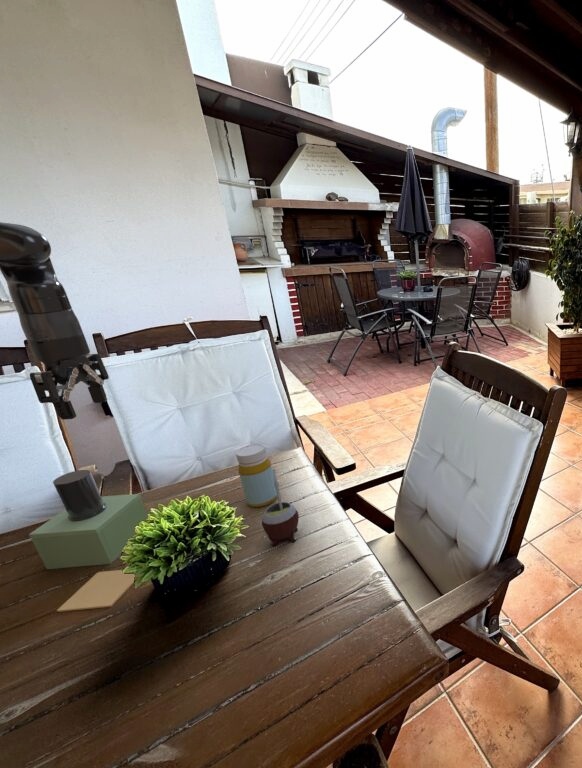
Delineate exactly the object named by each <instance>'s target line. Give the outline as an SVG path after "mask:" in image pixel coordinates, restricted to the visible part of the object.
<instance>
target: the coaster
mask: <svg viewBox="0 0 582 768" xmlns="http://www.w3.org/2000/svg"><path fill="white" fill-rule="evenodd" d="M122 570H123V569H116V570H106V571H105V570H104V571H97V572H96V573H95V574H94V575H93V576H92V577H91V578H89V580H88V581H86V582H85V584H83V585H82V586H81V587H80V588H79V589H78V590H77V591H76V592H74V594H73V595H71V597H70V598H68V599H67V600H66V601H65V602H64V603H62V604H61V606H60V607H58V609H56V613H61V612H72V611H73V612H74V611H83V610H91V609H93V610H95V609H105V608H112V607H114V605H115V604H116V603H117V602H118V601H119V600H120V599H121V598H122V596H123V595H124V594H125V593H126V592H127V591H128V590H129V589H130V588H131V587H132V585H134V584H135V582H134V577H135V575H134V574H124V573H123V572H122Z"/></svg>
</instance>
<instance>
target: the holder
mask: <svg viewBox="0 0 582 768" xmlns="http://www.w3.org/2000/svg"><path fill="white" fill-rule="evenodd" d="M52 484H53V486H54V489H55V490H56V492H57V494H58V497H59V499H60V501H61V503H62V505H63V507H64V510H65V509H66V511H67V514H68V519H69V520H70V521H73V522H75V521H82V520H86V519H89V518H92V517H94V516H96V515H98V514H100V513H102V512H103V511H104V510H105V509H106V508H107V505H106V503H104V502H103V499H102V497H101V496H102V495H101V492H100V490H99V488H98V485H97V483H96V481H95V479H94V476H93V474H92V472H91V470H89V469H79V470H73V471H70V472H67V473H65V474H61V475H60V476H58V477H57V478H55V479H54V480H53V482H52Z"/></svg>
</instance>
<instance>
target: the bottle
mask: <svg viewBox="0 0 582 768" xmlns="http://www.w3.org/2000/svg"><path fill="white" fill-rule="evenodd" d="M235 455H236V460H237V462H238V468H237V470H238V475H239V479H240V482H241V485H242V489H243V493H244V497H245V500H246V503H247V505H248V506H249V507H252V508H262V507H266V506H268V505H270V504H273V502H275V501H276V500H277V499H278V496H277V492H276V487H275V485H274V483H275V482H274V476H273V469H274V468H273V465H272V463H271V460H270V459H269V458H268V454H267V450H266V446H265V444H263V443H252V444H247V445H245V446H242V447H240V448H238V449H237V450H236V453H235Z"/></svg>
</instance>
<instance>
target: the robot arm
mask: <svg viewBox="0 0 582 768" xmlns="http://www.w3.org/2000/svg"><path fill="white" fill-rule="evenodd" d="M51 255H52V246H51V243H50V242H49V240H48V238H46V237H45V236H44V235H43V234H42V233H41V232H39V231H38V230H36V229H34V228H32V227H30V226H26V225H23V224H17V223H12V222H11V223H10V222H2V221H0V273H1V274H2V276H3V278H4V280H5V282H6V285H7V289H8V293H9V295H10V299H11V301H12V303H13V306H14V308H15V311H16V313H17V315H18V318H19V323H20V326H21V329H22V332H23V334H24V337H25V339H26V341H27V343H28V346H29V348H30V350H31V353H32V355H33V357H34V359H35V361H37V362H39V363H42V364H43V366H44V370H43V371H36V372H30V374H29V379H30V381H31V384H32V386H33V389H34V392H35V395H36V397H37V399H38V402H39V404H50V403H51V404H53V406H54V409H55V412H56V414H57V417H59V419H61V420H64V421H65V420H73V419H75V418H77V413H76V411H75V409H74V406H73V404H72V401H71V400H70V395H71V391H72V392H73V390H74V389H75V386H76V385H77V384H79V383H80V382H82V383H83V384H85V385H86V386H87V389H88V392H89V395H90V398H91V400H92V402H93V403H94V404H100V403H101V404H103V403H105V402H107V401H108V398H107V394H106V391H105V389H104V386H103V385H104V384H105V381H107V380H109V378H110V376H109V374H108V370H107V369H106V367H105V366H106V365H105V364H104V361H103V359H102V357H101V355H100V353H91V349H90V347H89V344H88V341H87V339H86V337H85V334H84V331H83V329H82V326H81V323H80V320H79V319H78V317H77V315H76V313H75V312H74V309H73V308H72V304H71V302H70V299H69V297H68V294H67V291H66V289H65V288H64V286H63V284H62V282H60V279H58V277H57V274H56V271H55V268H54V265H53V263H52V260H51ZM97 371H98V372H99V373H97ZM58 384H59V385H58ZM46 392H47V393H48V396H47V394H46ZM59 392H61V393H60V395H59Z"/></svg>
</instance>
